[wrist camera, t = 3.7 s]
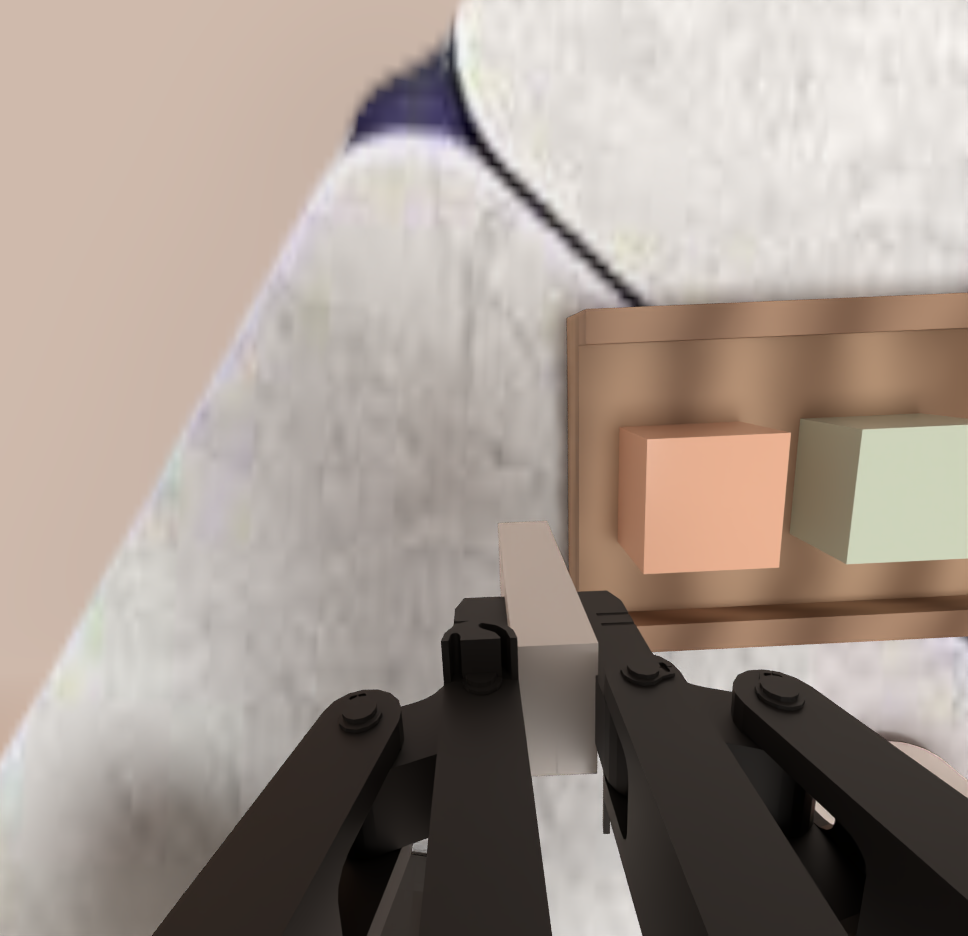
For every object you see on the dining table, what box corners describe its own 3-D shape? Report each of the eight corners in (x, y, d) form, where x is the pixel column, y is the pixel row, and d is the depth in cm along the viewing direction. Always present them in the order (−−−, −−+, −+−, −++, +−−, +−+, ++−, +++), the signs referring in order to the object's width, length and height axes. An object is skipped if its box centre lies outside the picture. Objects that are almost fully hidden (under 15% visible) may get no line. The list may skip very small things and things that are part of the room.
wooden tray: (569, 611, 30) (585, 655, 25) (566, 318, 26) (585, 309, 22) (930, 594, 30) (1009, 634, 25) (977, 300, 26) (1078, 287, 22)
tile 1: (789, 533, 26) (846, 564, 22) (800, 418, 24) (862, 429, 20) (903, 528, 26) (980, 558, 22) (920, 413, 24) (1005, 423, 20)
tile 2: (617, 541, 26) (643, 574, 22) (619, 427, 24) (647, 439, 20) (732, 536, 26) (778, 567, 22) (739, 421, 24) (790, 432, 20)
